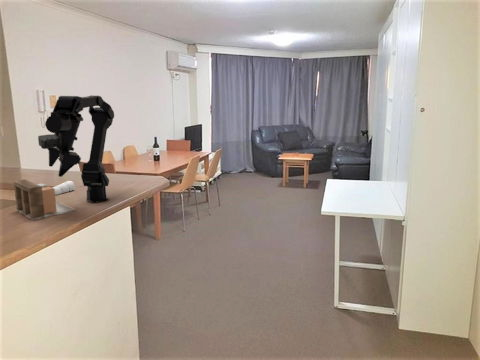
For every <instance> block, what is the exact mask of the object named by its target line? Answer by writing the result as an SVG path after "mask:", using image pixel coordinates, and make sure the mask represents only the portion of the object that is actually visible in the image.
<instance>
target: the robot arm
mask: <svg viewBox="0 0 480 360" xmlns="http://www.w3.org/2000/svg"><path fill="white" fill-rule="evenodd" d="M87 108H88V113H89V115H90V116H91V122H92V124H93V126H94V129H93V136H92V140H91V146H90V147H91V148H90V151H89V152H90V153H89V158H88V161H87V162H84V163H83V164H82V170H81V174H80V176H81V181H82V184H83V187H87V189H86V201H89V202H91V203H99V202H105V201H108V200H109V198H108V197H107V192H106V191H107V190H106V189H107V187H108V186H109V185H110V179H109V178H108V176H107V174H106V169H105V167H104V165H103V157H104V150H105V144H106V139H107V131H108V129H109V128H110V127H111V126H112V124H113V121H114V120H113V119H114V118H115V112H114V110H113V108H112V106H111V105H110V104H109V103H108V102H106V101H105V100H104V98H103V97H102V96H101V95H89V96H88V95H87V96H78V95H60V96H58V99H57V100H56V102H55V105H54V108H53V110H52V112H50V116H48V117H47V118H46V120H45V121H44V122H45V123H44V124H45V128H46V130H47V131H48V132H50V133H51V134H42V135H38V137H37V140H38V146H39V147H41V149H44V150H46V149H47V150H48V167H53V166H54V165H55V164H56V162H57V161H59V162H60V164H59V169H58V177H59V178H60V177H61V178H62V177H63V176H64V175H65V174H66V173H68V171H69V170H71V168H73V167H74V166H75V165H79V164H80V163H81V160H82V157H81V156H80V155H79V154H78V153H77V152H74V151H75V150H74V149H75V148H74V146H73V145H74V143H75V141H78V137H77V133H78V130H79V128H80V125H81V122H83V121H84V118H83V117H82V114H81V112H82V111H83V110H84V109H87Z"/></svg>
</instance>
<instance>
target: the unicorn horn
mask: <svg viewBox="0 0 480 360" xmlns="http://www.w3.org/2000/svg"><path fill="white" fill-rule="evenodd" d="M75 185H76V184H75V183H74V182H73V181H71V180H67V181H65V182H63V183H60V184H57V185H55V186H53V187H52V188H54V189H55V196H57V195H61V194H65V192H66V193H68V192H69V191H70V192H73V191H74V190H75V187H76V186H75ZM72 190H73V191H72Z"/></svg>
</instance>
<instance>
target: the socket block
mask: <svg viewBox="0 0 480 360" xmlns="http://www.w3.org/2000/svg"><path fill="white" fill-rule="evenodd" d="M37 184H38V183H34V182H32V181H30V180H28V179H19V180H13V188H14V196H15V204H16V205H15V207H16V212H18V211H19V212H18V213H20V214H21V213H22V215H23V214H24V215H23V216H25V217H26V216H27V217H26V218H28V219H30V220H32V221H35V220H36V221H37V220H40V219H45V218H49V217H54V216H59V215H62V214H67V213H72V212H76V209H74V208H72V207H70V206H68V205H66V204H64V203H62V202H60V201H56V211H55V212H50V213H45V214H44V205H43V195H42V186H39V185H37Z"/></svg>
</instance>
